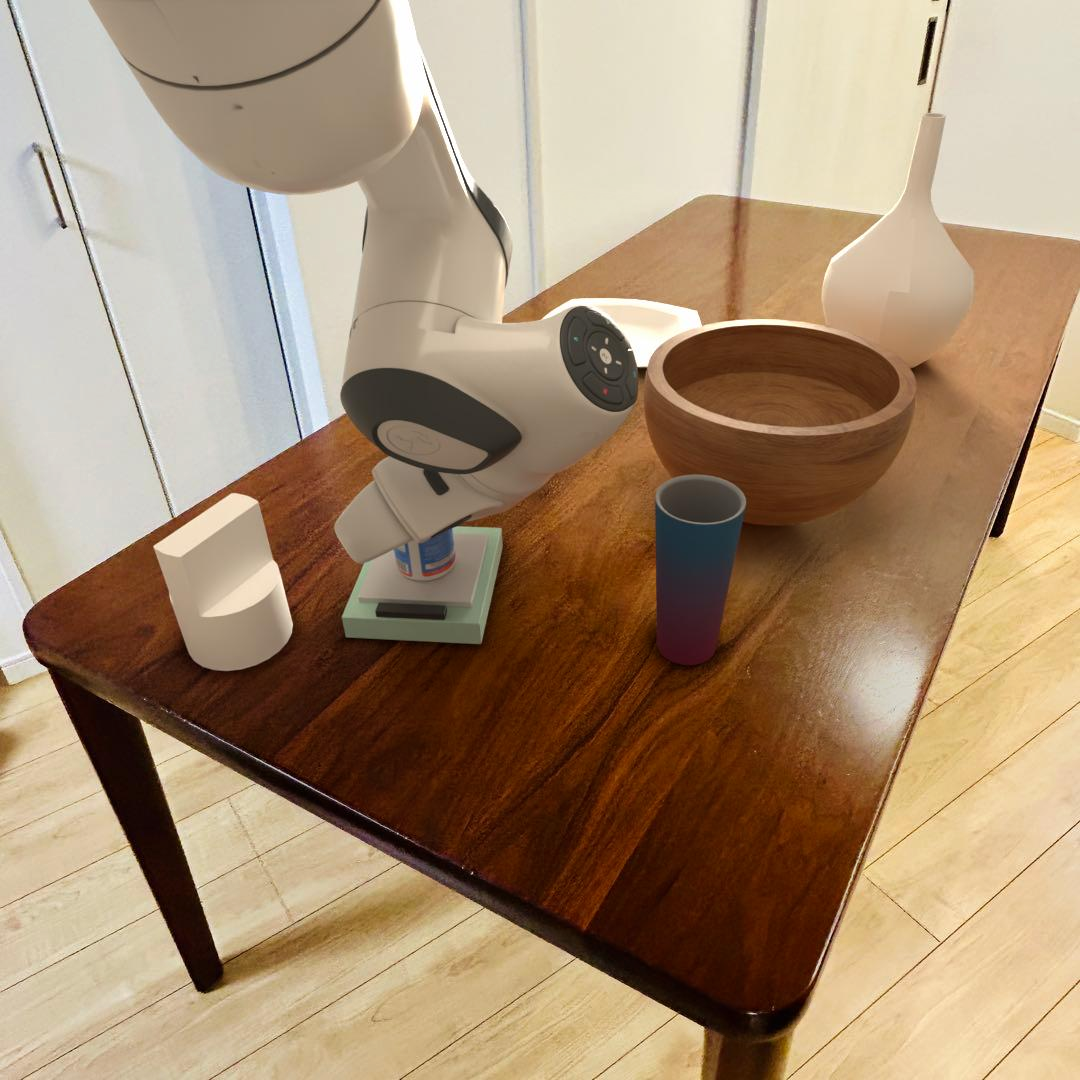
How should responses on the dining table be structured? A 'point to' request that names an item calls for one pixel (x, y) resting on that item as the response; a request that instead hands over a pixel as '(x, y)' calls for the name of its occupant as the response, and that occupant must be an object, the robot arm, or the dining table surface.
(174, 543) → the base with upright slab
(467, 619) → the scale
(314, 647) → the dining table surface
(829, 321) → the vase
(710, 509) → the cup
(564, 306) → the plate
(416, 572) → the pill bottle
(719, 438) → the bowl
